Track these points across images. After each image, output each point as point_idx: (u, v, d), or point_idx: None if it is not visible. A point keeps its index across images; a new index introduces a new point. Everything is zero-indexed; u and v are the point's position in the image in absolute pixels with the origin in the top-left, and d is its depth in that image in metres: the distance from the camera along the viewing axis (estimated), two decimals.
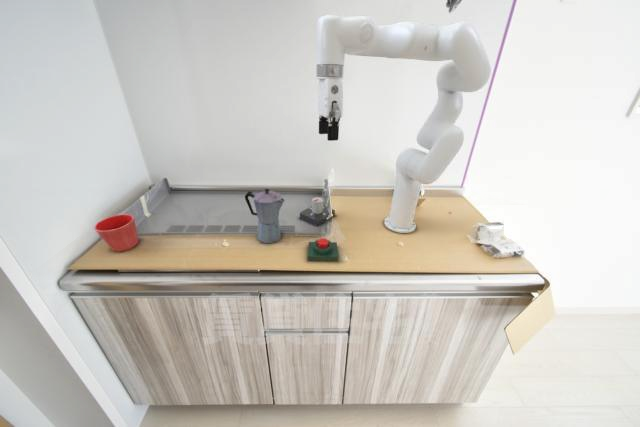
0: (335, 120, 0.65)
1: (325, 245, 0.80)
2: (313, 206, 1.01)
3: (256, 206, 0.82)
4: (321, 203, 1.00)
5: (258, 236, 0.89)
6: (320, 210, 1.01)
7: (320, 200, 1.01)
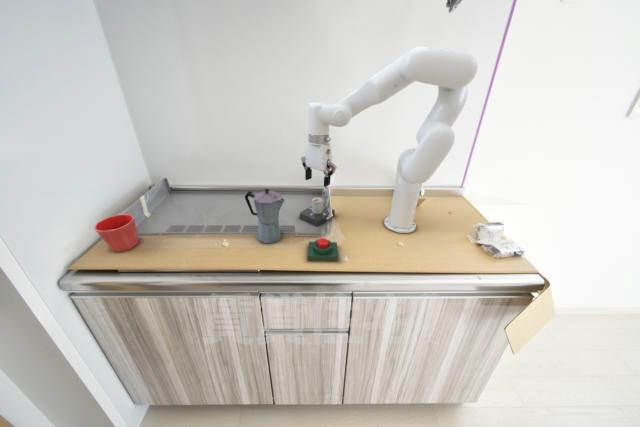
0: (332, 173, 0.89)
1: (325, 245, 0.80)
2: (313, 206, 1.01)
3: (256, 206, 0.82)
4: (321, 203, 1.00)
5: (258, 236, 0.89)
6: (320, 210, 1.01)
7: (320, 200, 1.01)
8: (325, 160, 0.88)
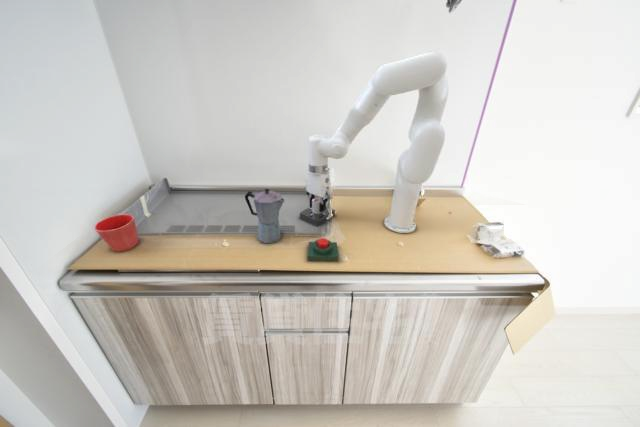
0: (327, 200, 0.97)
1: (325, 245, 0.80)
2: (313, 206, 1.01)
3: (256, 206, 0.82)
4: None
5: (258, 236, 0.89)
6: None
7: None
8: (324, 188, 0.94)
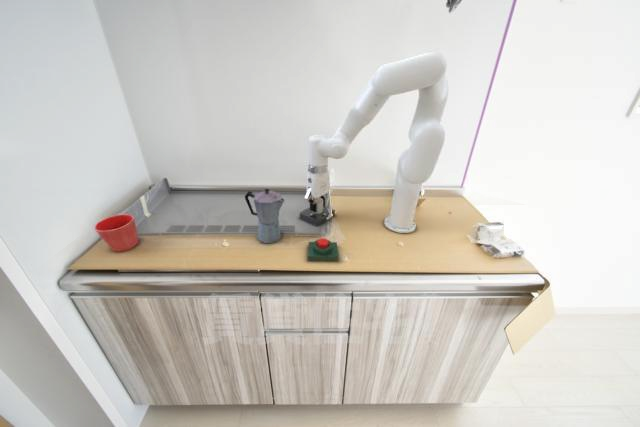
0: (308, 200, 0.97)
1: (325, 245, 0.80)
2: None
3: (256, 206, 0.82)
4: None
5: (258, 236, 0.89)
6: None
7: (316, 200, 1.00)
8: (307, 186, 0.95)
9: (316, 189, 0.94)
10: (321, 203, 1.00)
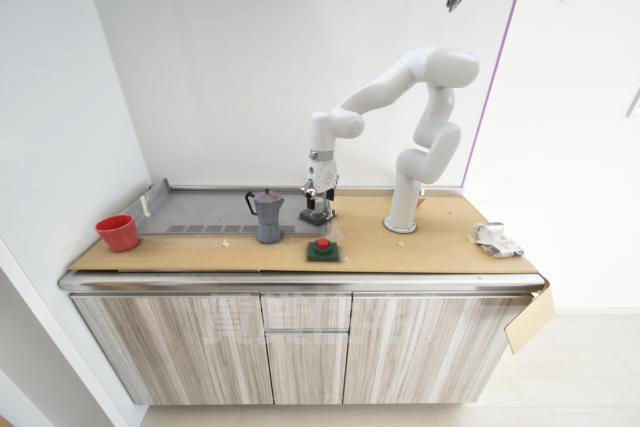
0: (304, 194, 0.75)
1: (325, 245, 0.80)
2: None
3: (256, 206, 0.82)
4: None
5: (258, 236, 0.89)
6: None
7: (316, 200, 1.00)
8: (307, 178, 0.75)
9: (319, 181, 0.74)
10: (321, 203, 1.00)
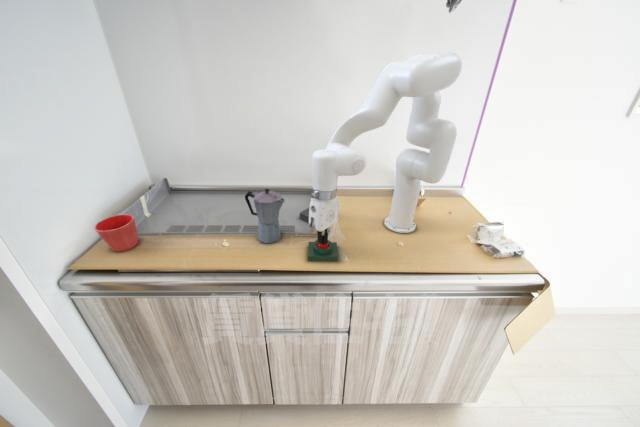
0: None
1: (325, 246, 0.80)
2: None
3: (256, 206, 0.82)
4: None
5: (258, 236, 0.89)
6: None
7: None
8: (309, 216, 0.73)
9: (322, 220, 0.71)
10: None
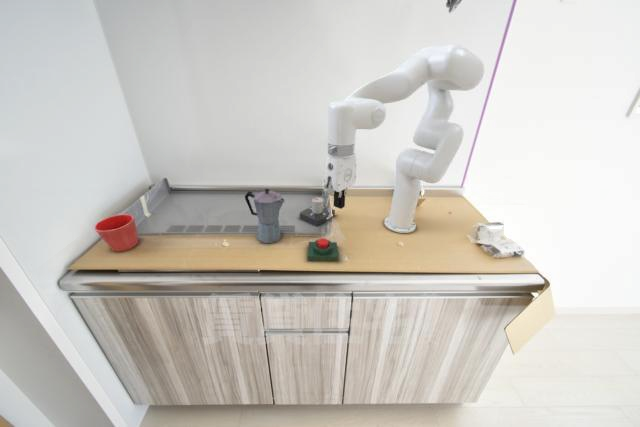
0: None
1: (325, 245, 0.80)
2: None
3: (256, 206, 0.82)
4: (313, 203, 1.00)
5: (258, 236, 0.89)
6: (312, 209, 1.02)
7: (316, 200, 1.00)
8: (326, 175, 0.69)
9: (339, 179, 0.67)
10: (321, 203, 1.00)
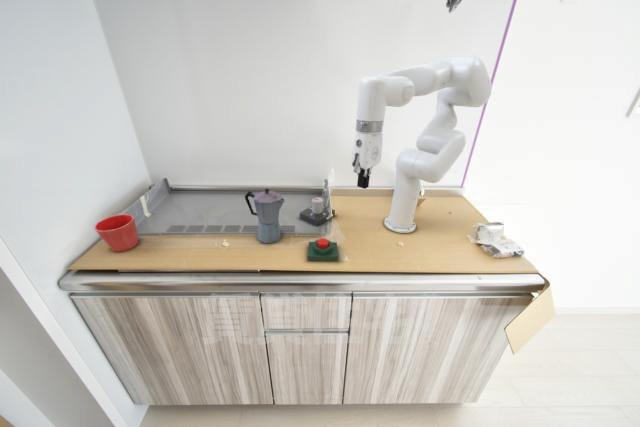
0: None
1: (325, 245, 0.80)
2: None
3: (256, 206, 0.82)
4: (313, 203, 1.00)
5: (258, 236, 0.89)
6: (312, 209, 1.02)
7: (316, 200, 1.00)
8: (353, 152, 0.69)
9: (367, 156, 0.67)
10: (321, 203, 1.00)
